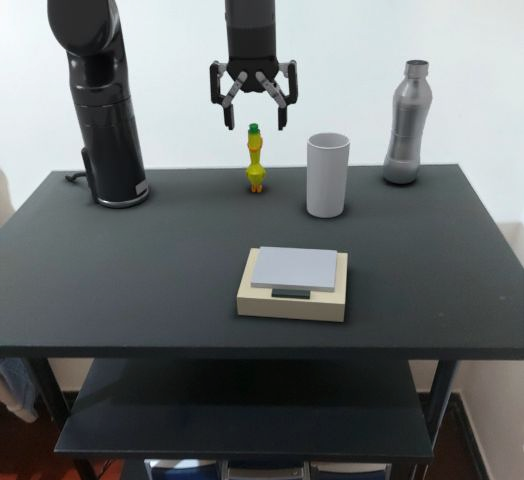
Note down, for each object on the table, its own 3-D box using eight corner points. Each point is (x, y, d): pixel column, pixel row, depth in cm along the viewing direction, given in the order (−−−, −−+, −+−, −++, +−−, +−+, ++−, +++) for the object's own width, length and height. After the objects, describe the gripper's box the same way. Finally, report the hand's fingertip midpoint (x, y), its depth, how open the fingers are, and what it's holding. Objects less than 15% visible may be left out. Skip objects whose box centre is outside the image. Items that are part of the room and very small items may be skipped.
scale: (237, 314, 72) (236, 291, 70) (251, 265, 81) (250, 243, 79) (343, 322, 71) (345, 298, 68) (346, 270, 79) (348, 248, 77)
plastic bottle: (377, 174, 103) (391, 58, 90) (411, 171, 103) (430, 56, 90) (386, 189, 98) (402, 69, 85) (422, 186, 99) (444, 66, 85)
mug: (341, 220, 90) (347, 149, 82) (302, 217, 91) (303, 146, 83) (348, 193, 97) (354, 125, 89) (311, 190, 99) (314, 123, 91)
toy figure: (249, 181, 102) (246, 115, 94) (268, 181, 102) (267, 116, 94) (244, 197, 97) (241, 130, 89) (264, 198, 97) (262, 130, 89)
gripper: (300, 13, 83) (299, 121, 94) (209, 15, 85) (219, 120, 96) (295, 25, 78) (295, 138, 89) (199, 26, 80) (210, 136, 91)
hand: (256, 128), depth 92 cm, fingers open, 8 cm apart
